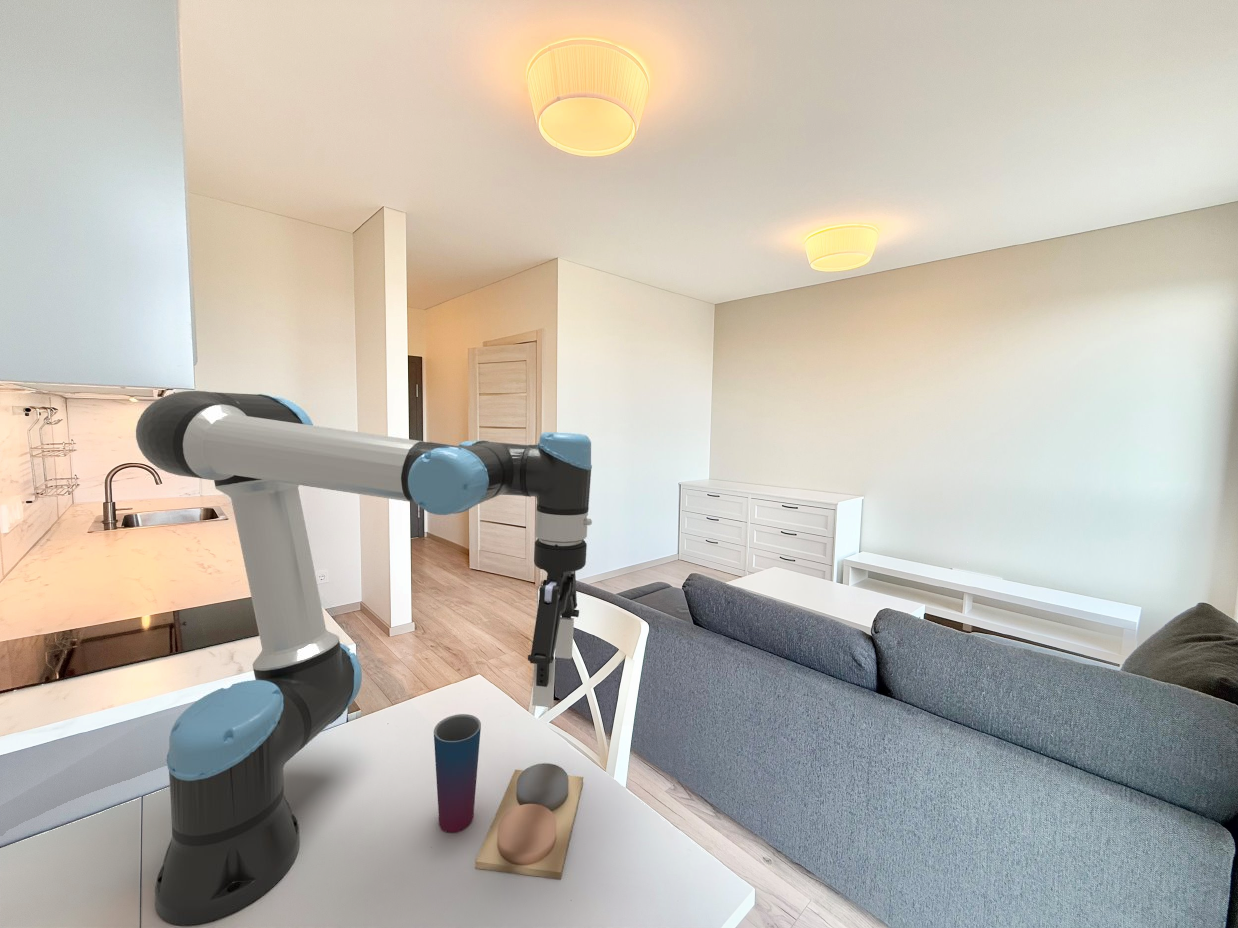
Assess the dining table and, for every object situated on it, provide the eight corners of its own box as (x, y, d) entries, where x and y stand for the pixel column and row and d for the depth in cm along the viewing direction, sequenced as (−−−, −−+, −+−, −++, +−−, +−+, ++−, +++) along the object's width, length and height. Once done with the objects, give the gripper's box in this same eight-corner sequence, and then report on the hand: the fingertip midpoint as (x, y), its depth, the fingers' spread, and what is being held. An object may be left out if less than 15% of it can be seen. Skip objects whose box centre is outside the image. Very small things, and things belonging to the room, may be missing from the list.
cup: (465, 842, 71) (466, 745, 70) (423, 832, 73) (424, 737, 71) (487, 806, 78) (488, 717, 77) (448, 798, 79) (449, 710, 78)
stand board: (475, 867, 67) (475, 847, 67) (515, 774, 85) (515, 758, 85) (560, 878, 66) (561, 858, 66) (583, 782, 84) (583, 765, 84)
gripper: (570, 566, 58) (561, 734, 60) (598, 523, 83) (591, 643, 85) (508, 561, 59) (501, 727, 61) (554, 520, 84) (548, 639, 86)
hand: (554, 678), depth 73 cm, fingers open, 13 cm apart
